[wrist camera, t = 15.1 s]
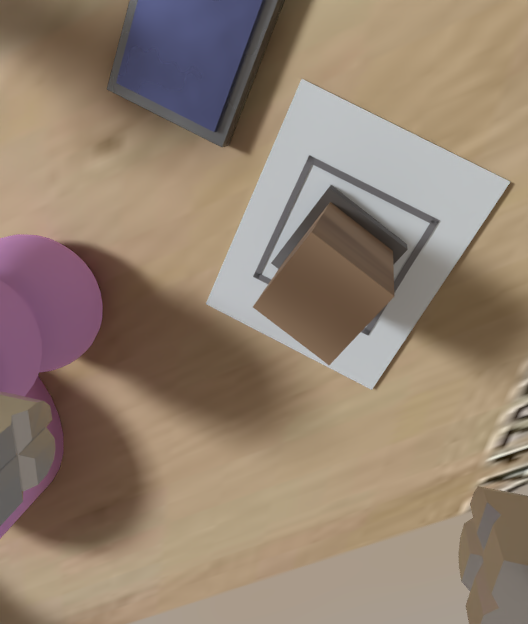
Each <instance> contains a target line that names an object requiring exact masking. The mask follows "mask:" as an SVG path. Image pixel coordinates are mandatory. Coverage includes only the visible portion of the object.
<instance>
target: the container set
mask: <svg viewBox="0 0 528 624" xmlns="http://www.w3.org/2000/svg"><path fill="white" fill-rule="evenodd" d="M102 309H103V304H102V298H101V292H100V289H99V286H98V283H97V281H96V279H95V277H94V275H93V273H92V271H91V270H90V269H89V267H88V266H87V265H86V264H85V262H84V261H83V260H82V259H81V258H80V257H79V256H78V255H77V254H75V253H74V252H73V251H71V250H70V249H68V248H67V247H66V246H64V245H62V244H60V243H58V242H56V241H54V240H52V239H49V238H46V237H41V236H37V235H13V236H8V237H4V238H1V239H0V392H6V393H10V394H15V395H19V396H24V397H28V398H33V399H37V400H42V401H45V402H46V403H47V404H49V405H50V408H51V414H52V421H51V422H50V423H49V425H48V426H47V429H48V430H49V431H50V433H51V434H52V435H53V437H54V438H55V448H56V449H55V456H54V461H53V463H52V465H51V467H50V470H49V472H48V474H47V475H46V476H45V478H44V479H43V480H42V481H41V482H40V483H39V484H38V485H37V486H35V487H32V488H30V489H28V490H26V491H23V502H22V503H21V504H20V505H19V506H18V507H17V509H16V510H15V511H14V512H13V513H12V514H11V515H10V516H9V517H8V518H7V519H6V521H5V522H4V523H3V524H2V525H1V526H0V538H1V537H2V536H3V535H4V534H5V533H6V532H7V531H8V529H9V528H10V527H11V526H12V525H13V524H14V523H15V522H16V521H17V520H18V518H19V517H20V516H21V515H22V514H23V513H24V512H25V511H26V510H27V508H28V507H29V506H30V505H31V504H32V503H33V502H34V501H35V500H36V499H37V497H38V496H39V495H40V494H41V493H42V492H43V491H44V490H45V489H46V488H47V486H48V485H49V484H50V483H51V482H52V481H53V479H54V477H55V476H56V474H57V472H58V470H59V469H60V465H61V461H62V457H63V431H62V427H61V422H60V417H59V415H58V412H57V410H56V407H55V405H54V402H53V400H52V398H51V396H50V394H49V392H48V391H47V389H46V388H45V386H44V384H43V383H42V381H41V379H40V378H39V376H38V374H39V372H46V371H52V370H55V369H58V368H61V367H63V366H65V365H67V364H70V363H71V362H73V361H74V360H76V359H77V358H79V357H80V356H81V355H82V354H83V353H85V352H86V350H87V349H88V348H89V347H90V346H91V345H92V343H93V341H94V339H95V337H96V335H97V333H98V332H99V330H100V326H101V322H102Z"/></svg>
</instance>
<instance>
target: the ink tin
mask: <svg viewBox="0 0 528 624" xmlns="http://www.w3.org/2000/svg"><path fill="white" fill-rule="evenodd" d="M283 3H284V0H130V2H129V6H128V10H127V13H126V17H125V21H124V25H123V29H122V33H121V37H120V40H119V44H118V48H117V52H116V56H115V60H114V64H113V67H112V71H111V75H110V79H109V83H108V87H107V90H109V91H111V92H113V93H115V94H117V95H119V96H121V97H123V98H125V99H127V100H129V101H131V102H133V103H135V104H137V105H139V106H141V107H143V108H145V109H147V110H149V111H151V112H153V113H155V114H157V115H159V116H161V117H163V118H165V119H167V120H169V121H171V122H173V123H175V124H177V125H179V126H181V127H183V128H185V129H187V130H189V131H191V132H193V133H195V134H197V135H199V136H200V137H202V138H204V139H206V140H208V141H210V142H212V143H214V144H216V145H218V146H220V147H226V146H229V143H230V141H231V138H232V135H233V133H234V130H235V128H236V125H237V122H238V120H239V117H240V115H241V112H242V109H243V107H244V104H245V102H246V99H247V96H248V94H249V91H250V89H251V86H252V83H253V81H254V78H255V76H256V73H257V70H258V68H259V65H260V63H261V60H262V57H263V55H264V52H265V50H266V47H267V44H268V42H269V39H270V37H271V34H272V31H273V29H274V26H275V24H276V21H277V18H278V16H279V13H280V11H281V8H282V5H283Z"/></svg>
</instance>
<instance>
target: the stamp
mask: <svg viewBox="0 0 528 624" xmlns="http://www.w3.org/2000/svg"><path fill="white" fill-rule="evenodd" d="M407 250H408V248H407V244H406V243H405V242H404V241H402V240H401V239H400V238H399V237H397V236H396V235H395V234H393V233H392V232H391V231H390V230H388V229H387V228H386V227H385V226H383V225H382V224H381V223H379V222H378V221H377V220H376V219H374V218H373V217H372V216H371V215H369V214H368V213H367V212H365V211H364V210H363V209H362V208H360V207H359V206H358V205H357V204H355V203H354V202H353V201H351V200H350V199H349V198H348V197H346V196H345V195H344V194H343V193H341V192H340V191H339V190H337V189H336V188H335V187H334V186H332V185H330V186H329V188H328V189H327V190H326V192H325V193H324V194H323V196H322V197H321V198H320V199H319V201H318V202H317V203H316V205H315V206H314V207H313V209H312V210H311V211H310V213H309V214H308V215H307V217H306V218H305V219H304V220H303V222H302V223H301V224H300V226H299V227H298V228H297V230H296V231H295V232H294V234H293V235H292V236H291V238H290V239H289V240H288V241H287V243H286V244H285V245H284V247H283V248H282V249H281V251H280V252H279V253H278V255H277V256H276V257H275V258H274V260H273V261H272V262H271V264H273V265H274V266H275V267H276V268H278V271H277V272H276V274H275V275H274V277H273V278H272V280H271V281H270V283H269V284H268V285H267V287H266V288H265V290H264V291H263V293H262V294H261V296H260V297H259V299H258V300H257V301H256V303H255V304H254V306H253V308H254V309H256V310H257V311H258V312H260V313H261V314H262V315H264V316H265V317H266V318H267V319H269V320H270V321H271V322H273V323H274V324H275V325H277V326H278V327H279V328H281V329H282V330H283V331H285V332H286V333H287V334H288V335H290V336H291V337H292V338H294V339H295V340H296V341H298V342H299V343H300V344H302V345H303V346H304V347H306V348H307V349H308V350H309V351H311V352H312V353H313V354H315V355H316V356H317V357H319V358H320V359H321V360H323V361H324V362H325V363H326V364H328V365H330V364H331V363H332V362H333V361H334V360H335V359H336V358H337V357H338V356H339V355H340V354H341V352H342V351H343V350H344V349H345V348H346V347H347V346H348V345H349V344H350V343H351V342H352V341H353V340H354V339H355V338H356V337H357V336H358V334H359V333H360V332H361V331H362V330H363V329H364V328H365V327H366V326H367V325H368V324H369V323H370V322H371V321H372V320H373V319H374V318H375V316H376V315H377V314H378V313H379V312H380V311H381V310H382V309H383V308H384V307H385V306H386V305H387V304H388V303H389V302H390V301H391V300H392V299H393V297H394V266H393V265H394V264H395V263H396V262H397V261H398V260H399V259H400V257H401V256H402V255H403V254H404V253H405V252H406V251H407Z"/></svg>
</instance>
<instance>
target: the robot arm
mask: <svg viewBox="0 0 528 624" xmlns="http://www.w3.org/2000/svg"><path fill="white" fill-rule="evenodd" d="M51 421H52V414H51V408H50V405H49V404H47V403H46V402H45V401H42V400H37V399H33V398H28V397H24V396H19V395H15V394H10V393H6V392H0V526H1V525H2V524H3V523H4V522H5V521H6V519H7V518H8V517H9V516H10V515H11V514H12V513H13V512H14V511H15V510H16V509H17V507H18V506H19V505H20V504H21V503H22V502H23V491H26V490H28V489H30V488H32V487H35V486H37V485H38V484H39V483H40V482H41V481H42V480H43V479H44V478H45V476H46V475H47V474H48V472H49V470H50V467H51V465H52V463H53V461H54V456H55V449H56V448H55V438H54V437H53V435H52V434H51V433H50V431H49V430H48V429H47V426H48V425H49V423H50V422H51ZM470 506H471V510H472V514H473V518H472V519H471V520H469V521H467V522H466V523H465V524H464V526H463V530H462V533H461V537H460V545H459V569H460V576H461V581H462V582H463V584H464V585H465V586H466V587H467V588H468V590H469V591H470V594H469V598H468V600H467V603H466V610H467V615H468V620H469V624H528V496H526V495H521V494H516V493H511V492H506V491H500V490H495V489H490V488H485V487H479V486H478V487H477V489H476V490H475V492H474V494H473V497H472V500H471V503H470Z"/></svg>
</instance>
